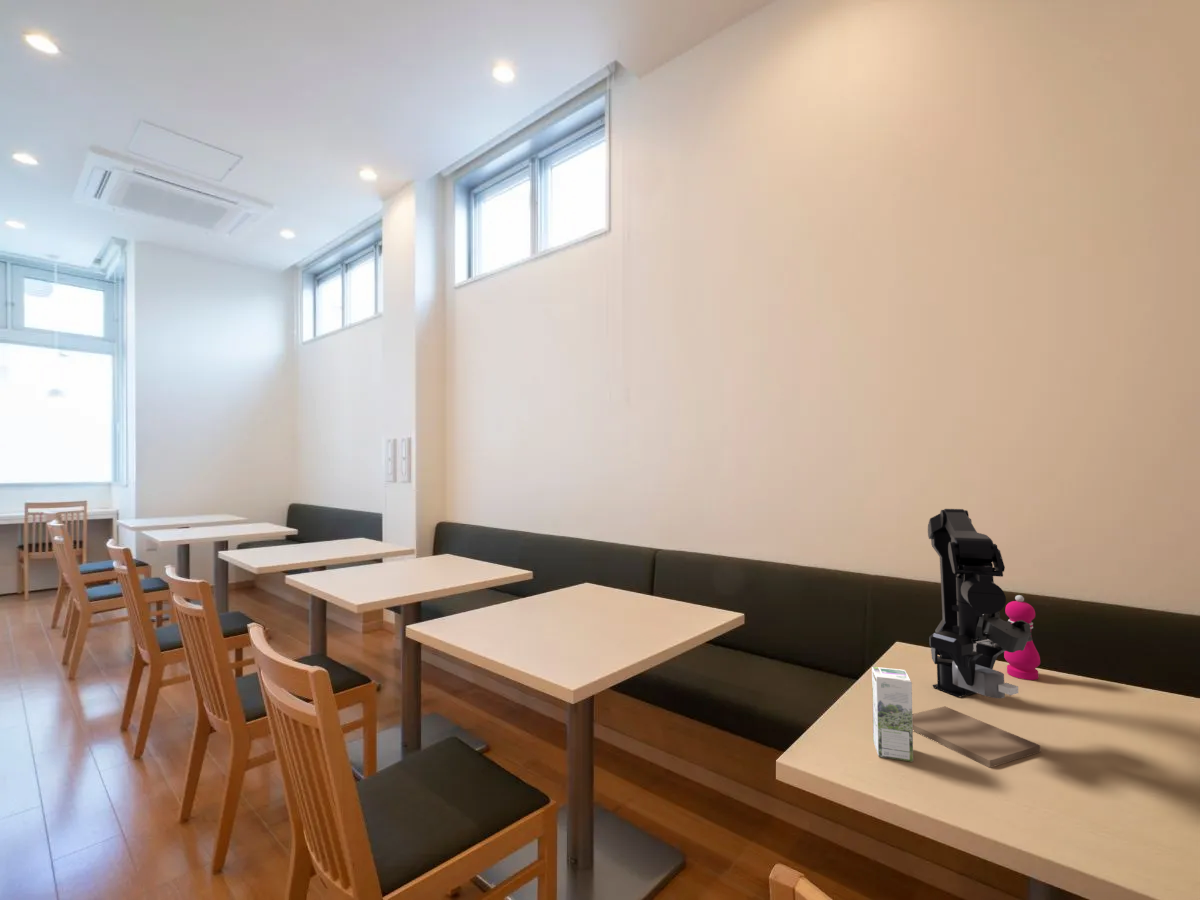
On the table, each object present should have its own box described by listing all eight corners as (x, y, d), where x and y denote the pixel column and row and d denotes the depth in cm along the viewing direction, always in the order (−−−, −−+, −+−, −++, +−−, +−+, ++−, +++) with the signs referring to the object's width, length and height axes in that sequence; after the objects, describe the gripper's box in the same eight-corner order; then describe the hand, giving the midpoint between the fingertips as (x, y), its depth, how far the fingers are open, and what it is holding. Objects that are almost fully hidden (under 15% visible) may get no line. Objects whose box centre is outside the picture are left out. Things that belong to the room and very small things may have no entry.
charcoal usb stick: (948, 682, 108) (947, 662, 108) (961, 679, 109) (960, 659, 110) (1007, 703, 98) (1006, 681, 98) (1021, 700, 99) (1020, 678, 99)
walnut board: (897, 723, 110) (897, 717, 110) (945, 711, 115) (945, 706, 115) (989, 767, 93) (989, 760, 93) (1040, 751, 99) (1040, 745, 99)
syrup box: (907, 747, 100) (904, 668, 101) (914, 763, 95) (911, 679, 96) (873, 742, 102) (871, 664, 103) (878, 758, 97) (875, 675, 97)
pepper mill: (1028, 670, 139) (1024, 592, 140) (1048, 681, 132) (1045, 598, 133) (998, 669, 140) (995, 591, 141) (1016, 680, 133) (1013, 598, 134)
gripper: (986, 616, 94) (990, 708, 94) (1050, 606, 101) (1054, 691, 101) (926, 603, 105) (929, 685, 104) (988, 594, 112) (991, 671, 111)
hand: (977, 683), depth 105 cm, fingers closed on charcoal usb stick, 4 cm apart
